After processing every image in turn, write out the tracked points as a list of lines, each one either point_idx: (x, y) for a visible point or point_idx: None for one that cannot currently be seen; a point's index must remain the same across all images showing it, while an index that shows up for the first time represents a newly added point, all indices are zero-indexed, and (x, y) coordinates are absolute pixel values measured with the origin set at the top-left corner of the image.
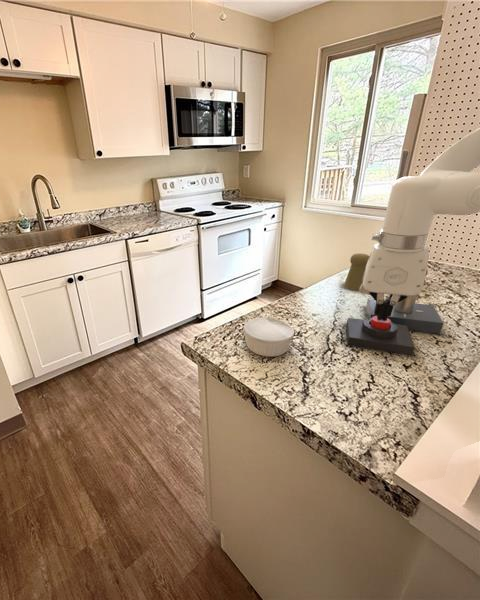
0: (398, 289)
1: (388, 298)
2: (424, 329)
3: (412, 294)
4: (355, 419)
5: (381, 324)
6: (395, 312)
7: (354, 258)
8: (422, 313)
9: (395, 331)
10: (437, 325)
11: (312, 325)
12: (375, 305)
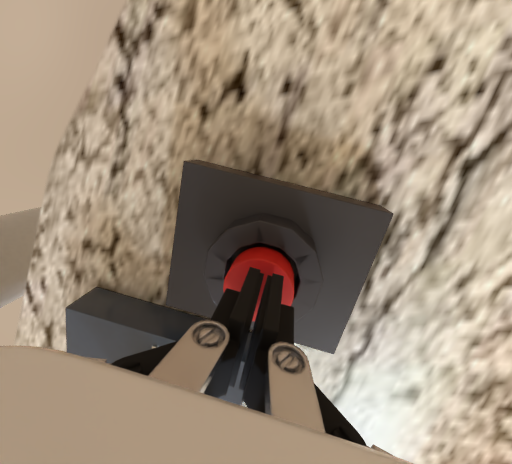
0: (131, 462)
1: (218, 394)
2: (124, 301)
3: (20, 352)
4: None
5: (268, 258)
6: None
7: None
8: None
9: (221, 235)
10: (86, 305)
11: (451, 330)
12: None
